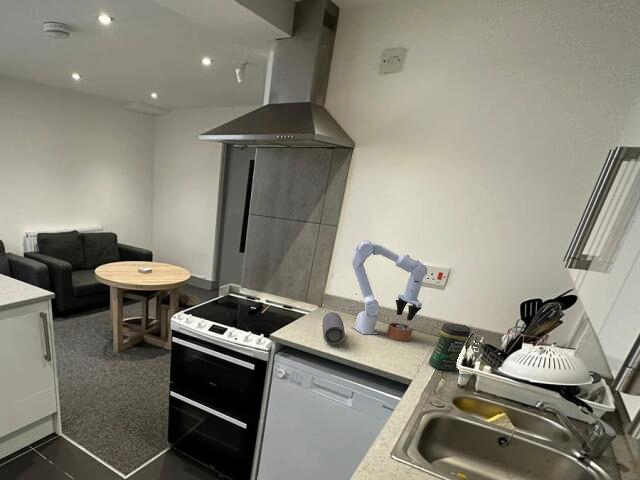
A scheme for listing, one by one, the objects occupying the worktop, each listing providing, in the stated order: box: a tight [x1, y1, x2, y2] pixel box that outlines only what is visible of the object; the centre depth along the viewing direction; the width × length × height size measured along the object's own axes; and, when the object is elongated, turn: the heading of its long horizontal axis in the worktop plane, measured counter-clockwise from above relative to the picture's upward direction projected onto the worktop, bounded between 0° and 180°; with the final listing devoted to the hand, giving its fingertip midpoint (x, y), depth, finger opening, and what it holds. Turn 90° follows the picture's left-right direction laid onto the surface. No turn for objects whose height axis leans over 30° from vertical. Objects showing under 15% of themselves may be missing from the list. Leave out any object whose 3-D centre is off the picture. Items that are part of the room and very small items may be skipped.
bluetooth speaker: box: [321, 311, 346, 345], centre depth 179 cm, size 23×9×10 cm, turn 164°
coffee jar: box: [428, 322, 472, 372], centre depth 156 cm, size 10×8×19 cm
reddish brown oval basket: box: [385, 322, 415, 342], centre depth 190 cm, size 14×11×6 cm
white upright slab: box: [395, 324, 415, 330], centre depth 187 cm, size 7×2×8 cm, turn 35°
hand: (404, 317), depth 186 cm, fingers open, 7 cm apart
